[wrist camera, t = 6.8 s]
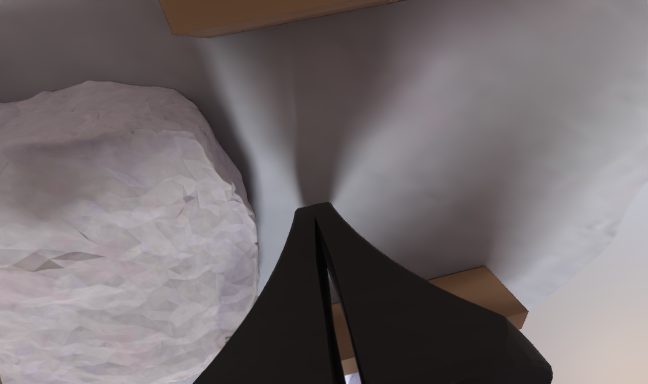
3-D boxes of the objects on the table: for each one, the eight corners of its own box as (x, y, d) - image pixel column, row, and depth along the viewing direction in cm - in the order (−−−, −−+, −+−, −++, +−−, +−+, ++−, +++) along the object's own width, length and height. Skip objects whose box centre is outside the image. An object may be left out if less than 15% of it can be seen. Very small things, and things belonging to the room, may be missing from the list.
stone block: (214, 61, 10) (-171, 104, 7) (216, 78, 6) (-641, 188, 3) (271, 272, 16) (83, 336, 13) (291, 347, 12) (32, 457, 10)
